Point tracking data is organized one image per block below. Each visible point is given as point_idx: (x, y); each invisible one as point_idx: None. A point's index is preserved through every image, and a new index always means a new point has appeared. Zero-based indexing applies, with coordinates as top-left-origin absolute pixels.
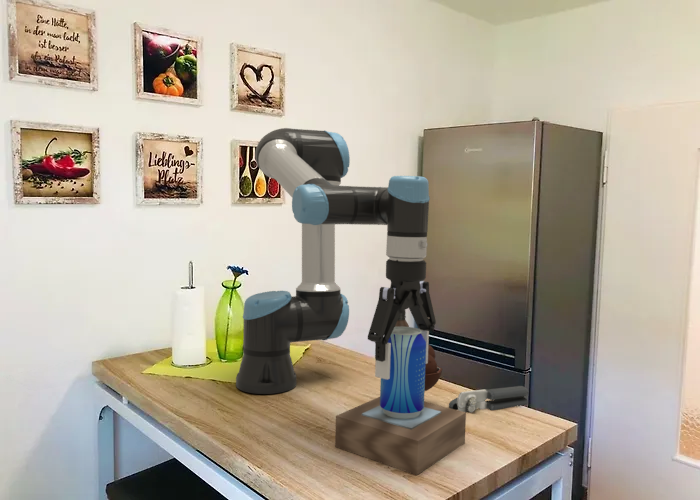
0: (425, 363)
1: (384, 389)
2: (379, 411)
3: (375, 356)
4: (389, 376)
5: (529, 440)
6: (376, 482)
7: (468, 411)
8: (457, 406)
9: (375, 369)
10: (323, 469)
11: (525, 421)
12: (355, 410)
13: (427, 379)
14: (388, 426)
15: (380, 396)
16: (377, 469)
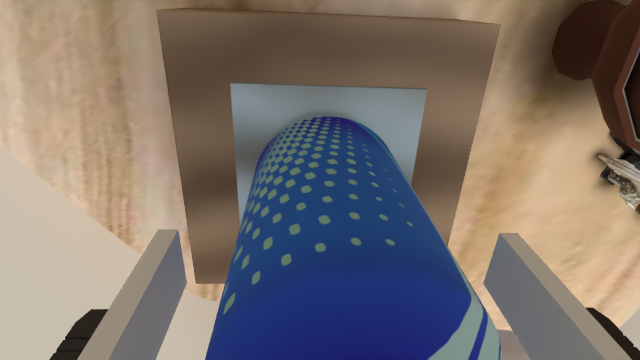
0: (484, 283)
1: (249, 193)
2: (288, 118)
3: (71, 331)
4: (181, 290)
5: (490, 312)
6: (128, 195)
7: (610, 173)
8: (626, 146)
9: (144, 252)
10: (71, 72)
11: (594, 278)
12: (251, 36)
13: (618, 137)
14: (216, 193)
15: (273, 147)
16: (174, 167)
